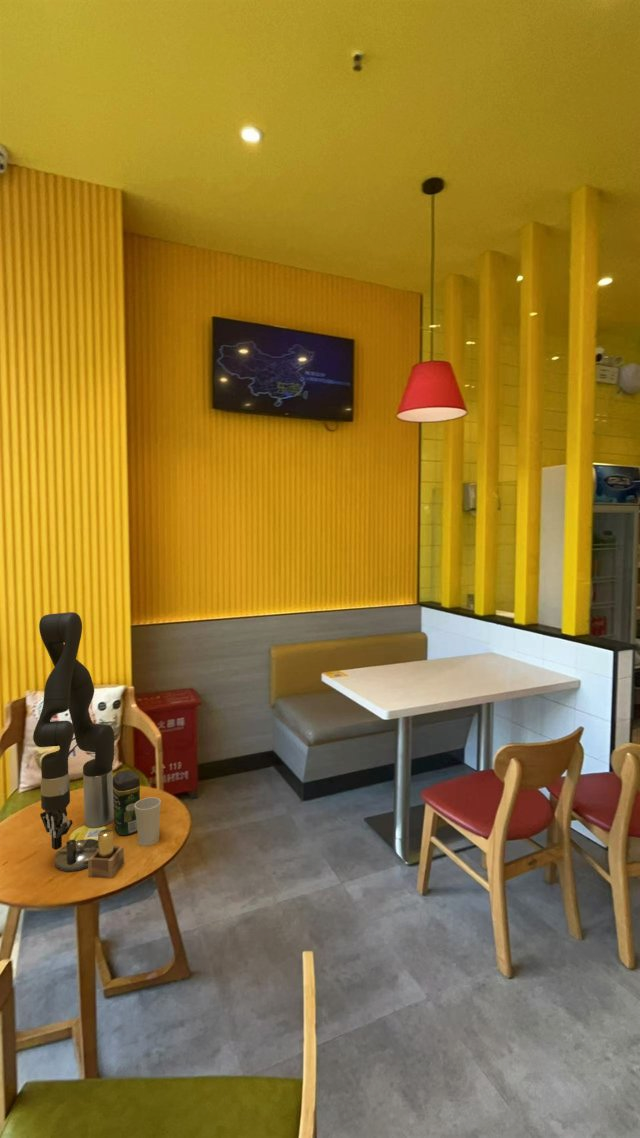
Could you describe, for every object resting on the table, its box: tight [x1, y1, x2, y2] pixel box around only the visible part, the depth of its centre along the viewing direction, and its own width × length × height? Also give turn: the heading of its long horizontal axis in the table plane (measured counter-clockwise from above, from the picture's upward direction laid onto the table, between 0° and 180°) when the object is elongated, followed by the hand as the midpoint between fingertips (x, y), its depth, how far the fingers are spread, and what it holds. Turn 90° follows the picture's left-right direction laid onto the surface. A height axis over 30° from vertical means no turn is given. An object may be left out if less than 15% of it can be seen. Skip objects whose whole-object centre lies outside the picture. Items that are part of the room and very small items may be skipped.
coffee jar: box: [113, 769, 141, 836], centre depth 175 cm, size 10×8×19 cm
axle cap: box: [76, 839, 85, 852], centre depth 159 cm, size 3×3×2 cm
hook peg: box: [97, 828, 114, 859], centre depth 153 cm, size 4×4×11 cm
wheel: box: [54, 838, 98, 872], centre depth 159 cm, size 13×13×8 cm
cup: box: [134, 796, 162, 847], centre depth 168 cm, size 8×8×12 cm
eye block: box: [87, 845, 125, 879], centre depth 153 cm, size 7×7×5 cm
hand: (56, 848), depth 155 cm, fingers closed
